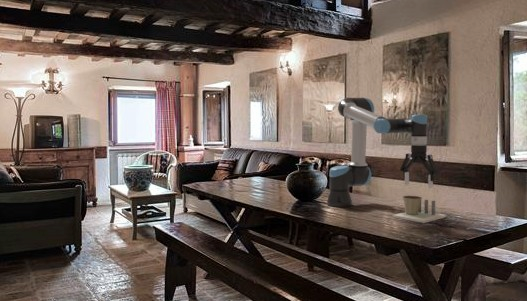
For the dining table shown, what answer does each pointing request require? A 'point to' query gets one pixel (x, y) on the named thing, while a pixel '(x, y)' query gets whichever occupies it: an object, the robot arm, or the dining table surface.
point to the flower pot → (412, 204)
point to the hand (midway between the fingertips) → (418, 186)
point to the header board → (421, 214)
